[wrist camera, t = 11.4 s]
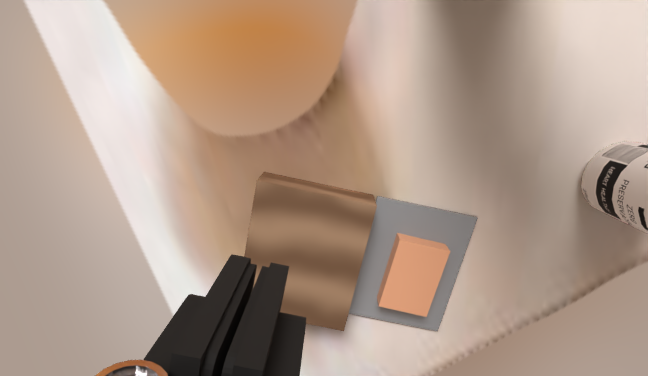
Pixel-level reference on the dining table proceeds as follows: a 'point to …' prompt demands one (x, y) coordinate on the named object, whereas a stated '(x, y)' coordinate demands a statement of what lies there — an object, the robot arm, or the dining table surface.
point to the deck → (311, 243)
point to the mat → (380, 242)
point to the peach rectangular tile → (412, 274)
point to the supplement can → (619, 183)
